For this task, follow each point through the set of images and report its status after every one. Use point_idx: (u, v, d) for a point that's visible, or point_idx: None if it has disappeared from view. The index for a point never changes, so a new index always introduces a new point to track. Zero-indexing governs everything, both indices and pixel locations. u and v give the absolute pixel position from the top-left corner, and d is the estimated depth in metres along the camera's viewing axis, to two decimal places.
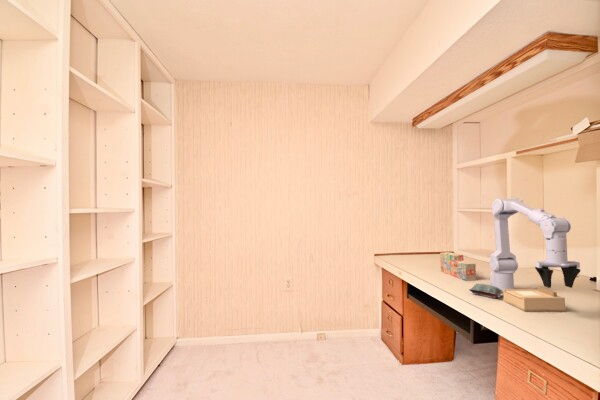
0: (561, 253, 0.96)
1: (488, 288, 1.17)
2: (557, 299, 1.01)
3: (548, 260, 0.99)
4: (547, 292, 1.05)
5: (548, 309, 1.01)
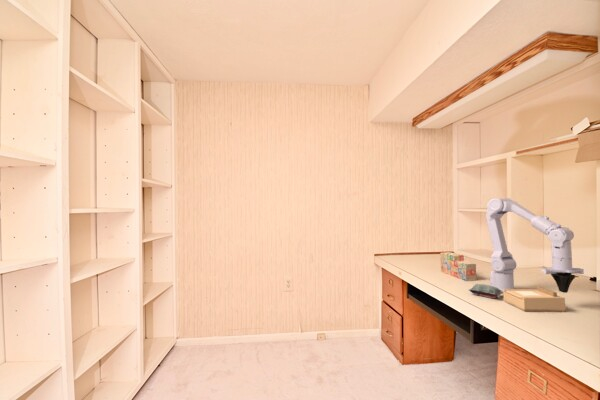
0: (566, 260, 1.04)
1: (488, 288, 1.17)
2: (557, 299, 1.01)
3: (554, 267, 1.07)
4: (547, 292, 1.05)
5: (548, 309, 1.01)
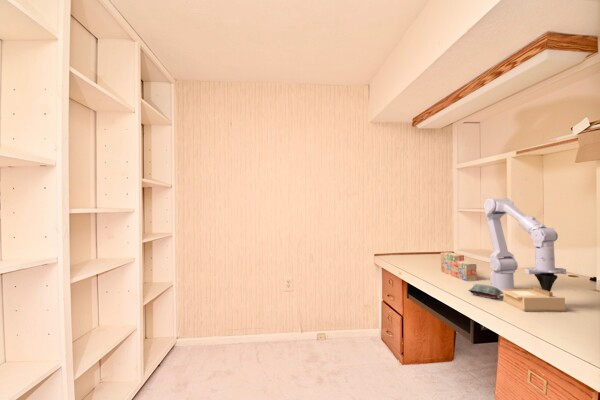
0: (549, 261, 1.04)
1: (487, 289, 1.17)
2: (557, 299, 1.01)
3: (537, 267, 1.07)
4: (543, 293, 1.06)
5: (548, 309, 1.01)
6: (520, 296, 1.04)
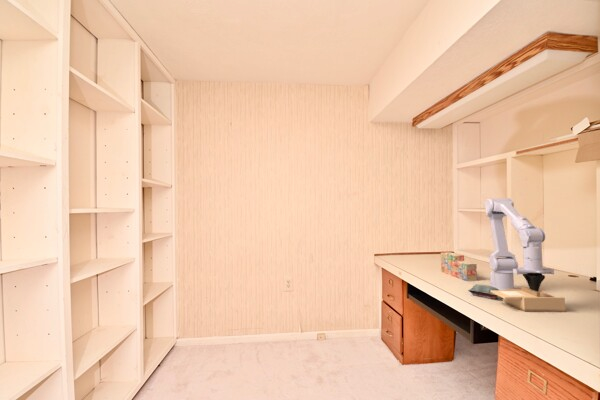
0: (536, 261, 1.04)
1: (487, 289, 1.17)
2: (557, 299, 1.01)
3: (525, 267, 1.07)
4: (530, 293, 1.06)
5: (548, 309, 1.01)
6: (508, 296, 1.04)
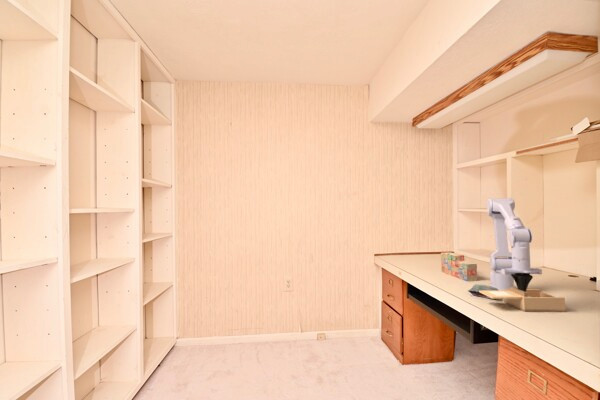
0: (524, 261, 1.05)
1: (487, 289, 1.16)
2: (557, 299, 1.01)
3: (513, 267, 1.07)
4: (518, 293, 1.06)
5: (548, 309, 1.01)
6: (495, 296, 1.04)
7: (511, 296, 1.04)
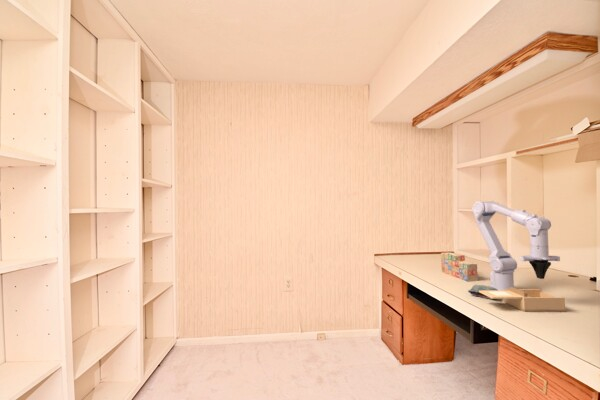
0: (543, 248, 1.09)
1: (487, 289, 1.16)
2: (557, 299, 1.01)
3: (532, 254, 1.12)
4: (518, 293, 1.06)
5: (548, 309, 1.01)
6: (495, 296, 1.04)
7: (511, 296, 1.04)
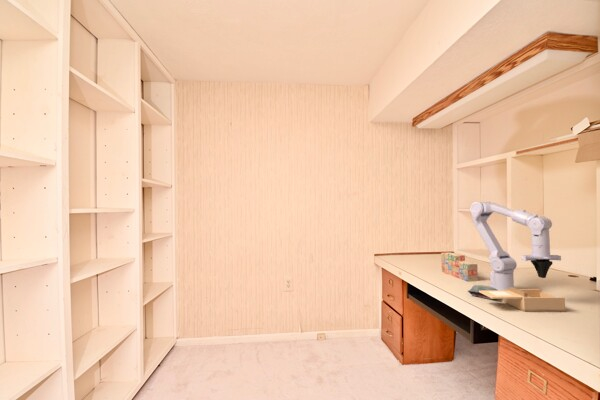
0: (544, 247, 1.10)
1: (487, 289, 1.16)
2: (557, 299, 1.01)
3: (533, 254, 1.13)
4: (518, 293, 1.06)
5: (548, 309, 1.01)
6: (495, 296, 1.04)
7: (511, 296, 1.04)
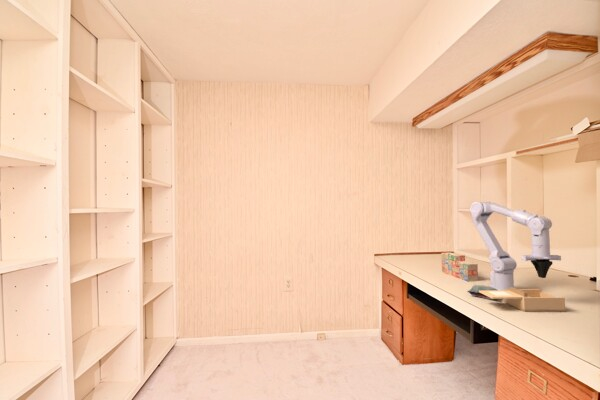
0: (544, 247, 1.10)
1: (487, 290, 1.15)
2: (557, 299, 1.01)
3: (533, 254, 1.13)
4: (518, 293, 1.06)
5: (548, 309, 1.01)
6: (495, 296, 1.04)
7: (511, 296, 1.04)
